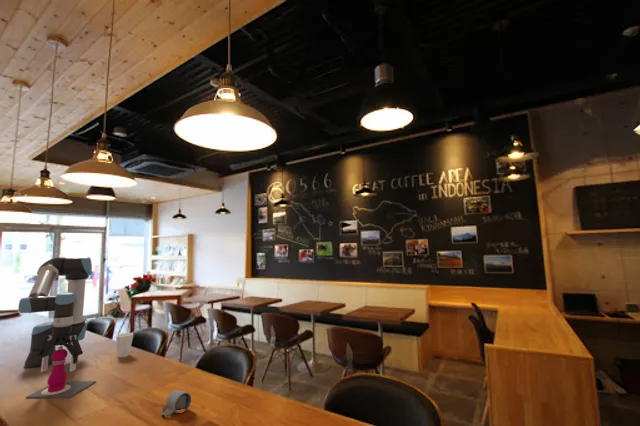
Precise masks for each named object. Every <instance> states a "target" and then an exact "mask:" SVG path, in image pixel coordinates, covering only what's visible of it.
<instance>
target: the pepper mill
mask: <svg viewBox="0 0 640 426" xmlns="http://www.w3.org/2000/svg"><path fill="white" fill-rule="evenodd" d="M68 352H69V351H68V350H67V349H64V346H60V345H59V346H58V348H57V349H56V351H55V352H53V354H52V359H53V360H54V361H52V362H53V363H52V364H51V365H53V366H52V367H53V368H52V371H51V373H50V374H49V376H48V379H47V386H49V387H48V392H57V391H60V390H62V389H64V388H65V384H64V382H65V381H67V380H68V376H67V372H66V370H65V363H66V360H67V359H66V358H67V357H68V355H69V354H68Z"/></svg>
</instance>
